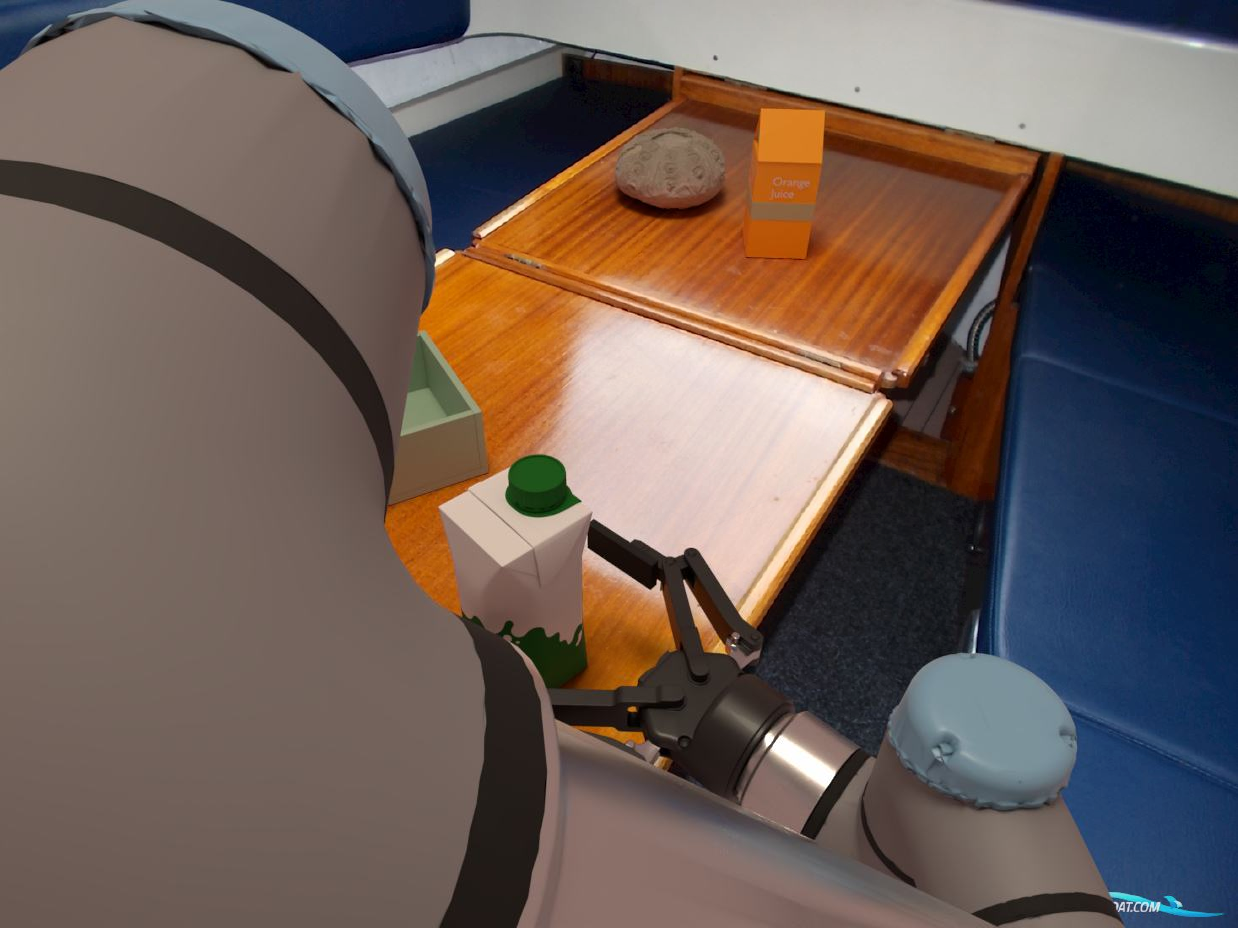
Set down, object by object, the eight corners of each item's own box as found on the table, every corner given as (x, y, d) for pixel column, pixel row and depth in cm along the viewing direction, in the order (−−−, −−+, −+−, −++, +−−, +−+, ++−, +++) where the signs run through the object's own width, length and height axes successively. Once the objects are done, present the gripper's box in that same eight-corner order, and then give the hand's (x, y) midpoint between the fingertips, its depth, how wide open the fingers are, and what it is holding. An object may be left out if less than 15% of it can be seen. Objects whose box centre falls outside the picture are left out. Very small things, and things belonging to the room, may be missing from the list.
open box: (328, 526, 83) (309, 463, 78) (288, 430, 94) (270, 369, 88) (488, 472, 89) (481, 411, 84) (434, 388, 100) (424, 329, 95)
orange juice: (741, 234, 131) (757, 98, 118) (799, 236, 131) (822, 100, 118) (745, 258, 125) (762, 119, 112) (806, 260, 125) (830, 121, 112)
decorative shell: (654, 231, 131) (657, 167, 125) (592, 190, 142) (592, 129, 136) (744, 205, 139) (752, 143, 132) (679, 168, 150) (683, 109, 143)
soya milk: (603, 667, 71) (605, 489, 58) (515, 732, 66) (496, 555, 53) (537, 605, 76) (525, 428, 63) (451, 661, 71) (419, 483, 58)
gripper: (634, 942, 49) (399, 720, 59) (856, 668, 63) (636, 528, 73) (638, 885, 44) (381, 654, 54) (878, 602, 58) (638, 462, 68)
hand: (527, 581), depth 64 cm, fingers open, 13 cm apart
